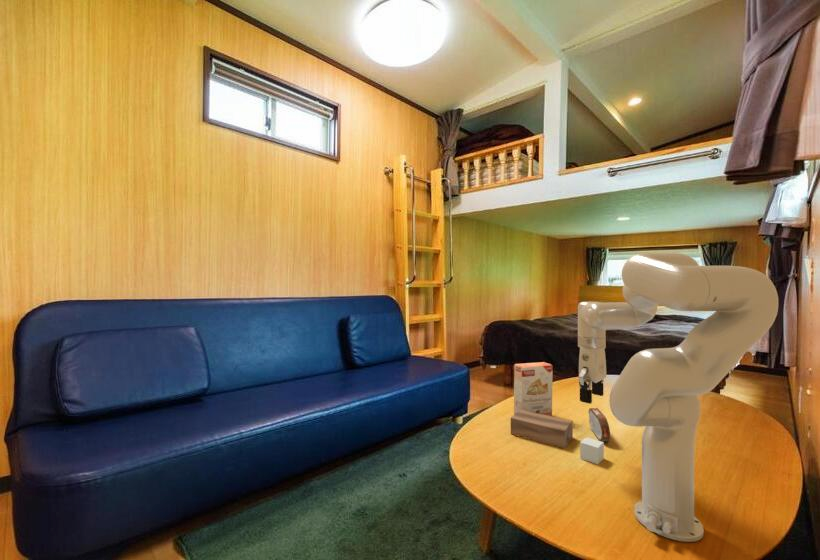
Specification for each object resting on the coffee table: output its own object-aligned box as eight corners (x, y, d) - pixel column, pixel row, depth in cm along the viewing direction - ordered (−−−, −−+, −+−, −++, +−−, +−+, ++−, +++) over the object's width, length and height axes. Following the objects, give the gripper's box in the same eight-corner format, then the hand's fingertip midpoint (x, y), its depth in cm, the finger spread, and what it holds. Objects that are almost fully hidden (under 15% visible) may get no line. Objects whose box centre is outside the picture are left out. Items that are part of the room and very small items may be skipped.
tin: (611, 446, 115) (611, 420, 115) (600, 445, 116) (600, 419, 116) (596, 427, 130) (596, 404, 130) (587, 426, 131) (587, 404, 131)
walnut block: (564, 449, 114) (564, 431, 114) (510, 434, 125) (510, 417, 125) (572, 438, 122) (572, 421, 122) (521, 425, 133) (521, 409, 133)
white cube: (597, 464, 104) (597, 447, 104) (580, 458, 108) (580, 442, 108) (603, 458, 108) (603, 442, 108) (586, 453, 111) (586, 437, 111)
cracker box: (522, 421, 136) (521, 367, 135) (513, 415, 141) (513, 363, 141) (553, 417, 139) (553, 364, 139) (543, 412, 145) (543, 361, 145)
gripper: (594, 347, 99) (594, 409, 99) (614, 340, 111) (614, 394, 111) (567, 344, 104) (567, 402, 104) (589, 337, 116) (589, 389, 116)
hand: (591, 398), depth 108 cm, fingers open, 9 cm apart
